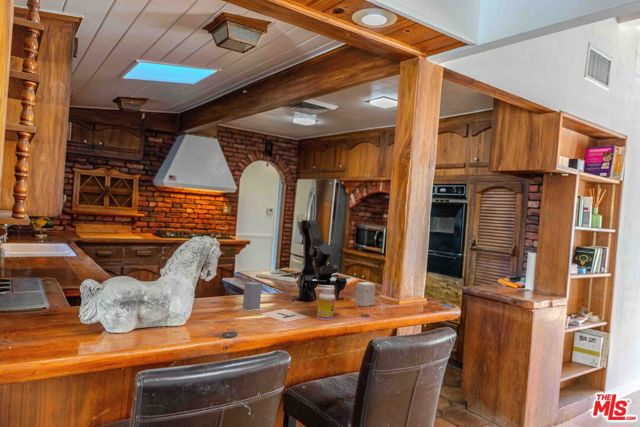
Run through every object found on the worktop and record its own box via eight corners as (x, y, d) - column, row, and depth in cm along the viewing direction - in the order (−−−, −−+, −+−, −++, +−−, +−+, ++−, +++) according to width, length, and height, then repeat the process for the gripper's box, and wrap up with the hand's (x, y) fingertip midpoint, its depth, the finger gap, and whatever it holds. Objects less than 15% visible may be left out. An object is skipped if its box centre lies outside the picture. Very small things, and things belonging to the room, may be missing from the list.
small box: (365, 302, 211) (366, 281, 211) (374, 305, 207) (375, 283, 207) (354, 304, 205) (356, 282, 205) (363, 307, 201) (365, 284, 201)
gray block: (251, 307, 183) (253, 281, 183) (259, 309, 180) (261, 283, 180) (242, 308, 179) (244, 282, 179) (250, 311, 176) (252, 284, 176)
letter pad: (259, 315, 171) (260, 313, 171) (283, 310, 182) (284, 308, 182) (285, 323, 162) (285, 321, 162) (309, 317, 173) (309, 316, 173)
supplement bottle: (331, 322, 169) (334, 290, 169) (315, 320, 171) (317, 288, 170) (334, 318, 176) (337, 287, 176) (318, 316, 177) (321, 285, 177)
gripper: (304, 256, 175) (308, 288, 165) (347, 258, 180) (354, 290, 170) (298, 272, 183) (302, 304, 172) (340, 274, 188) (346, 305, 178)
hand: (326, 300), depth 173 cm, fingers open, 9 cm apart
